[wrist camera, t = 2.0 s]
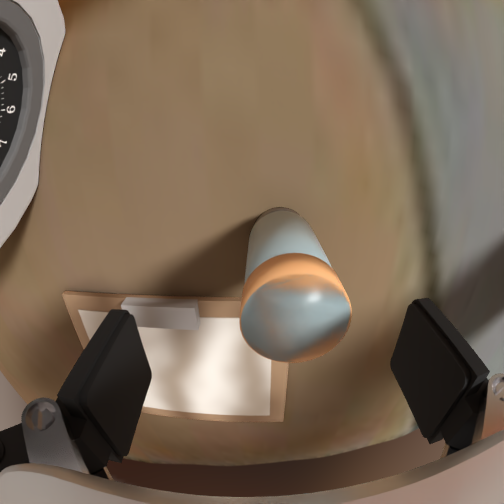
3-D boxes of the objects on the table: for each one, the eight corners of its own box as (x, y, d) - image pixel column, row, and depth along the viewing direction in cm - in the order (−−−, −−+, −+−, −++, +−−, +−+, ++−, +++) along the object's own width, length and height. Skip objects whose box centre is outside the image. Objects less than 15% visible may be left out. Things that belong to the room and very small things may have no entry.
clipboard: (292, 296, 21) (294, 308, 20) (283, 417, 27) (283, 428, 26) (65, 290, 22) (56, 299, 20) (114, 403, 28) (110, 412, 26)
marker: (311, 202, 18) (359, 270, 9) (308, 259, 20) (342, 359, 11) (248, 202, 18) (236, 272, 9) (250, 260, 20) (242, 363, 11)
